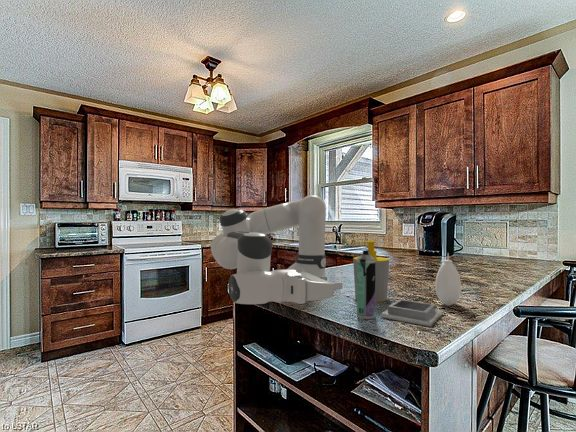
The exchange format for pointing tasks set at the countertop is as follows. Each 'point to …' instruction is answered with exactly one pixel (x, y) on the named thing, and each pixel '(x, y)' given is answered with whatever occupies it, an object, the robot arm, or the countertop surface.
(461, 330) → the countertop surface
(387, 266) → the soap bottle
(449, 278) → the white bulb air blower
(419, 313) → the socket block
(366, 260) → the spray can
